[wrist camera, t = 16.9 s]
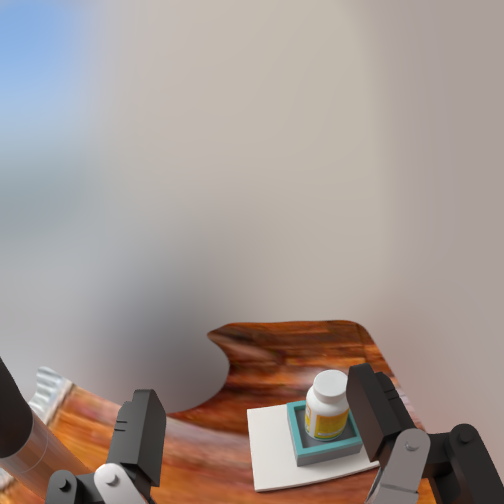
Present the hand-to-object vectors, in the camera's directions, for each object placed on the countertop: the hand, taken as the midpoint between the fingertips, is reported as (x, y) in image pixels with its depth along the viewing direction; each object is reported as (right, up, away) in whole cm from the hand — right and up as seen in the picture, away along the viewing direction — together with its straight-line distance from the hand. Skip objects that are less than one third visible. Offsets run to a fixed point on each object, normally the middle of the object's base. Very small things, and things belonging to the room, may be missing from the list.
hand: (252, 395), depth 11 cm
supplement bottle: (+10, -17, +23) cm, 30 cm away
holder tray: (+10, -21, +25) cm, 34 cm away
